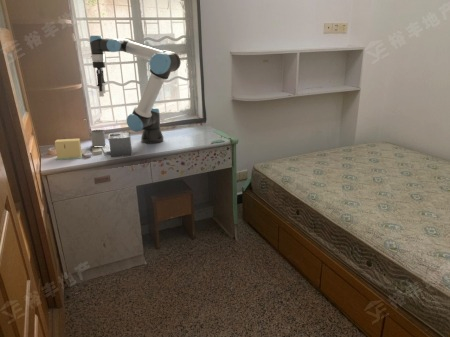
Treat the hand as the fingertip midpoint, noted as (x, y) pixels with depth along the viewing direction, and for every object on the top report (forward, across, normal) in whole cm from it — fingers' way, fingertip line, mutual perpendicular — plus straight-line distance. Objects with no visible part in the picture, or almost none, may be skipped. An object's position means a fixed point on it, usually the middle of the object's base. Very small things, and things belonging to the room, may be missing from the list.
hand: (102, 94), depth 234 cm
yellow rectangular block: (+31, +30, -20) cm, 48 cm away
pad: (+32, +30, -20) cm, 48 cm away
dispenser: (+32, +30, +10) cm, 45 cm away
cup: (+32, +10, -5) cm, 34 cm away
